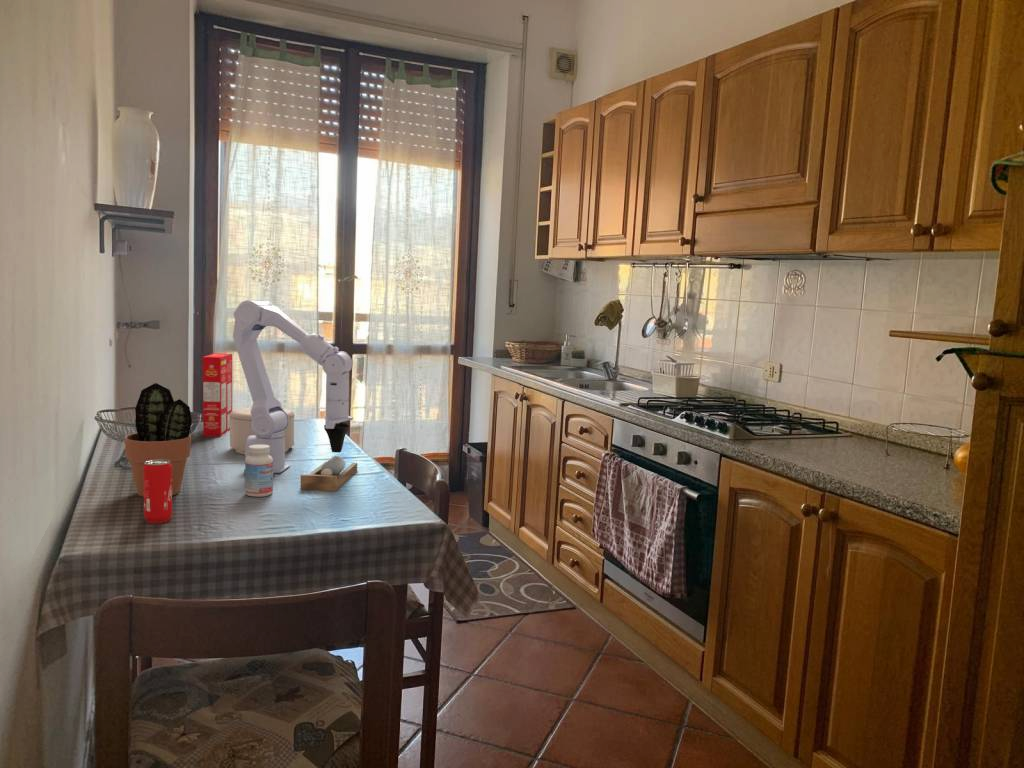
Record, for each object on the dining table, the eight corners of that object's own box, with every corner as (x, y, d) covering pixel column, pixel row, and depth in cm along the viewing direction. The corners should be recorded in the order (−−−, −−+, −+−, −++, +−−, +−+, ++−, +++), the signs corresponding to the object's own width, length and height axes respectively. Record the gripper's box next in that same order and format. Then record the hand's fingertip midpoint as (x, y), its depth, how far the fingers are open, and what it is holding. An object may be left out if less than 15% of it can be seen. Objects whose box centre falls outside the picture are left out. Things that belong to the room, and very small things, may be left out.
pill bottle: (264, 498, 174) (264, 449, 173) (239, 496, 175) (239, 447, 174) (277, 492, 180) (278, 444, 179) (253, 489, 181) (254, 442, 180)
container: (302, 453, 224) (303, 413, 222) (239, 458, 213) (239, 416, 212) (283, 442, 238) (283, 404, 237) (222, 446, 228) (222, 407, 227)
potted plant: (126, 503, 166) (124, 388, 163) (124, 487, 178) (123, 380, 175) (194, 497, 173) (193, 386, 170) (188, 483, 185) (187, 379, 182)
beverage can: (149, 516, 158) (149, 458, 156) (176, 516, 158) (175, 459, 157) (139, 523, 152) (138, 464, 151) (166, 524, 153) (166, 464, 151)
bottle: (327, 472, 199) (316, 482, 188) (328, 455, 198) (317, 465, 188) (344, 473, 199) (334, 484, 188) (345, 456, 198) (335, 466, 188)
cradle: (300, 489, 183) (300, 475, 183) (325, 469, 204) (325, 456, 204) (335, 491, 183) (335, 476, 182) (357, 471, 204) (357, 458, 203)
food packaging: (216, 428, 257) (215, 353, 254) (232, 428, 257) (232, 353, 254) (203, 436, 242) (202, 356, 239) (220, 436, 243) (220, 357, 240)
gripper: (345, 404, 189) (344, 458, 191) (359, 396, 204) (358, 447, 205) (317, 402, 190) (316, 457, 191) (333, 395, 204) (332, 445, 206)
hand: (336, 451), depth 198 cm, fingers closed
